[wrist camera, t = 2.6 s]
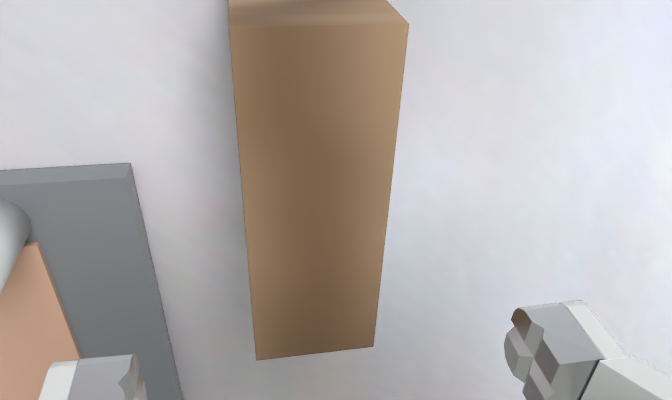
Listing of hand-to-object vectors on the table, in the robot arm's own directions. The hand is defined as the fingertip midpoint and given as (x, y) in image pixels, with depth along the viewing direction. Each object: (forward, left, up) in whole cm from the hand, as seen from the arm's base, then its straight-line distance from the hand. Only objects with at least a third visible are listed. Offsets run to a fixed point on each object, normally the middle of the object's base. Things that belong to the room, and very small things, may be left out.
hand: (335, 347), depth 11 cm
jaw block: (0, 0, -10) cm, 10 cm away
